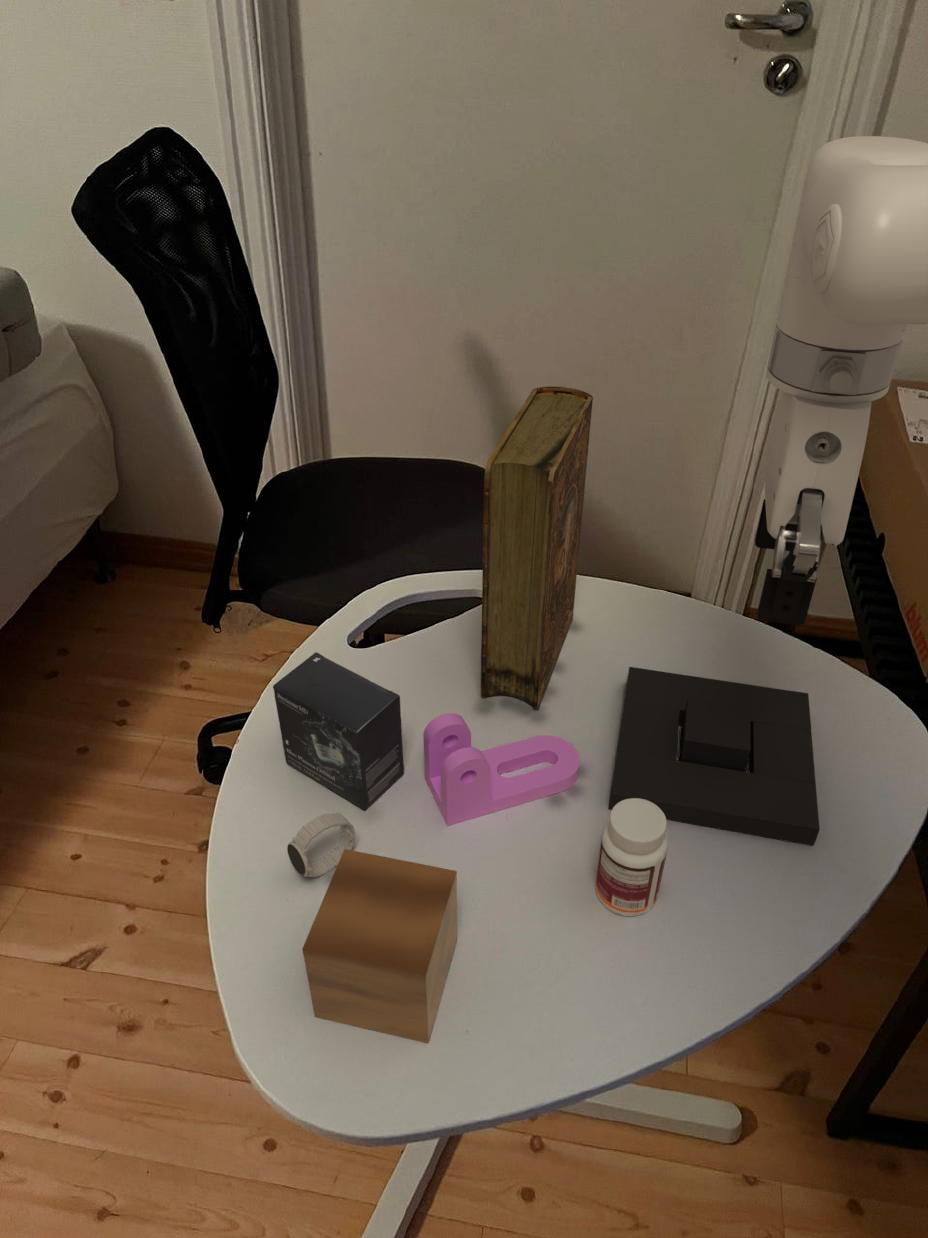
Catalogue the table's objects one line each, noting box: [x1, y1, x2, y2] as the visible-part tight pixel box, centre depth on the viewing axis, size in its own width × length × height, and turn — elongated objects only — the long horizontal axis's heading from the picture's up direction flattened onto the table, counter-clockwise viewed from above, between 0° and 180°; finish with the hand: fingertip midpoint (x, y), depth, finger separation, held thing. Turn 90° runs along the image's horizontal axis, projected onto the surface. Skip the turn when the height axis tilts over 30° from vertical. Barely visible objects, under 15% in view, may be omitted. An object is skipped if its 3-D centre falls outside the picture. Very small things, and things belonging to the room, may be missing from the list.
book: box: [480, 386, 594, 710], centre depth 86 cm, size 16×6×25 cm, turn 162°
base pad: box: [607, 666, 820, 847], centre depth 82 cm, size 16×16×2 cm
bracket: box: [422, 712, 581, 827], centre depth 78 cm, size 13×6×7 cm, turn 111°
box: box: [272, 651, 405, 811], centre depth 78 cm, size 9×6×10 cm, turn 54°
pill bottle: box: [595, 798, 669, 917], centre depth 68 cm, size 5×5×8 cm
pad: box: [678, 698, 751, 772], centre depth 81 cm, size 5×5×4 cm
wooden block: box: [302, 849, 458, 1044], centre depth 63 cm, size 8×8×8 cm
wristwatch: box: [286, 812, 356, 878], centre depth 71 cm, size 3×5×5 cm, turn 130°
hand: (777, 582), depth 69 cm, fingers open, 9 cm apart
